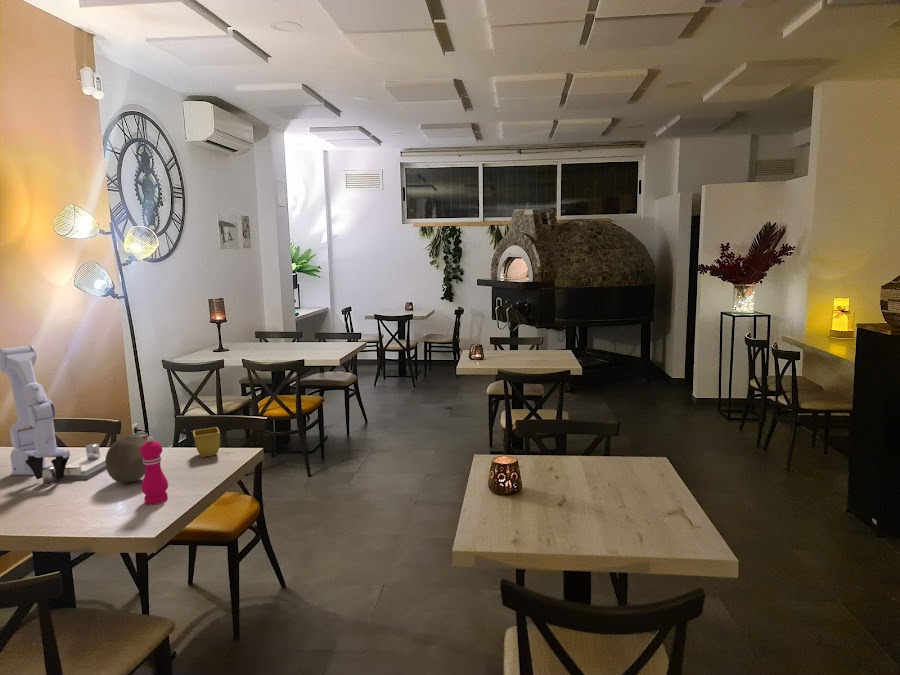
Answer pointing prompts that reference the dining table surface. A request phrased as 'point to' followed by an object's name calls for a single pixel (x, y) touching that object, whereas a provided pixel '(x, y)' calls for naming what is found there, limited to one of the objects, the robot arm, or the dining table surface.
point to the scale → (84, 468)
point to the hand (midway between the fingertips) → (50, 478)
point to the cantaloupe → (126, 459)
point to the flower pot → (207, 441)
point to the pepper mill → (153, 473)
